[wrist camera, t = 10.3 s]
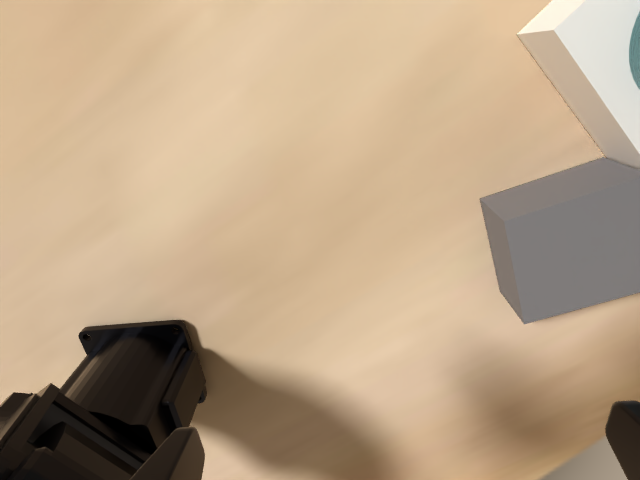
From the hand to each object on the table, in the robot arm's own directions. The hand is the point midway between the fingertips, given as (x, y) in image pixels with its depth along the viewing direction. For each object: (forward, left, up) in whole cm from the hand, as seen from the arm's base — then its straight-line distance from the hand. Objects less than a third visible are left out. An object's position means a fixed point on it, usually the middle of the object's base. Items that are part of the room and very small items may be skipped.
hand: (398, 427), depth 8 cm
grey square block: (+10, -2, -13) cm, 17 cm away
